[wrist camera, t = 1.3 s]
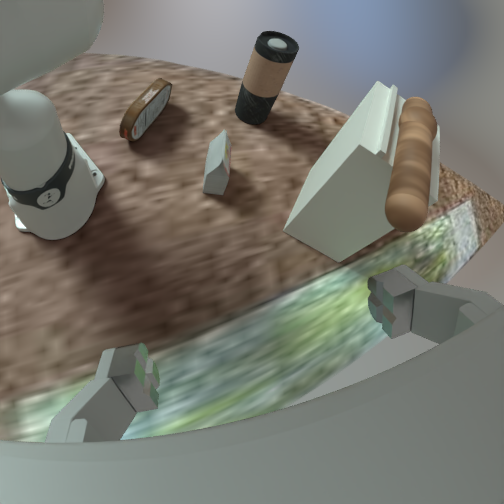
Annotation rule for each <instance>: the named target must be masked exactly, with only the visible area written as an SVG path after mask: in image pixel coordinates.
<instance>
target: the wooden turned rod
mask: <svg viewBox="0 0 504 504" xmlns="http://www.w3.org/2000/svg"><path fill="white" fill-rule="evenodd" d="M398 126H399V133H398V139H397V145H396V151H395V157H394V163H393V168H392V173H391V178H390V183H389V188H388V193H387V197H386V202H385V215H386V218H387V220H388V222H389V223H390V224H391V226H392V227H394V228H395V229H397V230H399V231H402V232H412V231H415V230H417V229H418V228H420V227H421V226H422V225H423V223H424V222H425V220H426V218H427V213H428V204H429V194H430V182H431V167H432V141H433V140H434V139H435V137H436V134H437V122H436V119H435V117H434V116H433V114H432V109H431V107H430V105H429V104H428V102H427V101H425V100H424V99H422V98H419V97H411V98H409V99H407V100H406V101H405V102H404V104H403V106H402V112H401V115H400V117H399V122H398Z"/></svg>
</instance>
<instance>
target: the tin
mask: <svg viewBox="0 0 504 504" xmlns="http://www.w3.org/2000/svg"><path fill="white" fill-rule="evenodd" d="M171 88H172V84H171V83H170V82H168V81H165V80H163V79H162V78H158V79H156V80H155V81H154V82H153V83H152V84H151V85H150V86H149V87H148V88H147V89H146V90H145V91H144V92H143V93H142V94H141V95H140V96H139V97H138V98H137V99H136V100H135V101H134V102H133V103H132V104H131V105H130V106H129V108H128V109H127V111H126V113H125V114H124V116H123V119H122V121H121V124H120V130H119V132H120V136H121V137H122V138H125V139H127V140H130V141H136V140H138V139H139V138H140V137H141V136H142V135H143V134H144V133H145V131H146V130H147V129H148V128H149V127H150V125H151V124H152V123H153V122H154V121H155V120H156V118H157V117H158V116H159V115H160V114H161V112H162V111H163V110H164V108H165V106H166V105H167V103H168V101H169V98H170V93H171Z"/></svg>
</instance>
